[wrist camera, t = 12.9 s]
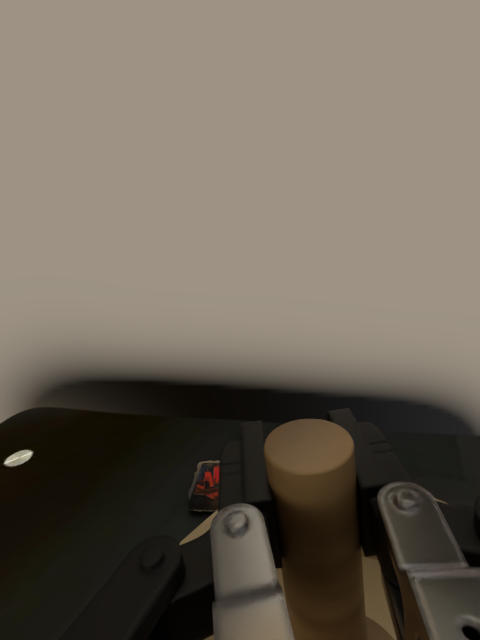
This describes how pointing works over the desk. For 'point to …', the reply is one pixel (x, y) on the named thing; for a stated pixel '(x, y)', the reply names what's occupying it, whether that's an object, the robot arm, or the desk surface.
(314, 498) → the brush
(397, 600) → the robot arm
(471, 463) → the desk surface
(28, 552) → the desk surface
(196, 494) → the small printed card
